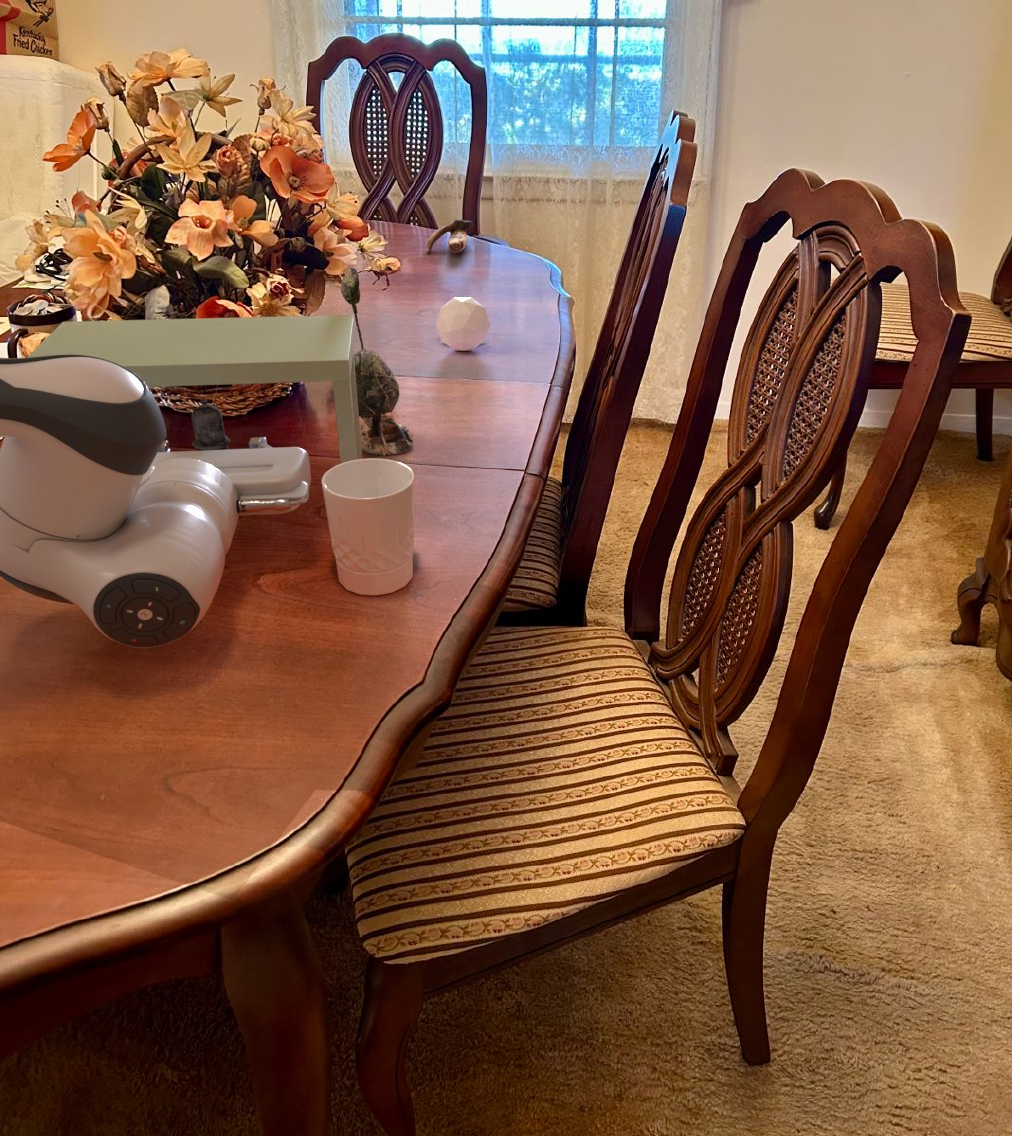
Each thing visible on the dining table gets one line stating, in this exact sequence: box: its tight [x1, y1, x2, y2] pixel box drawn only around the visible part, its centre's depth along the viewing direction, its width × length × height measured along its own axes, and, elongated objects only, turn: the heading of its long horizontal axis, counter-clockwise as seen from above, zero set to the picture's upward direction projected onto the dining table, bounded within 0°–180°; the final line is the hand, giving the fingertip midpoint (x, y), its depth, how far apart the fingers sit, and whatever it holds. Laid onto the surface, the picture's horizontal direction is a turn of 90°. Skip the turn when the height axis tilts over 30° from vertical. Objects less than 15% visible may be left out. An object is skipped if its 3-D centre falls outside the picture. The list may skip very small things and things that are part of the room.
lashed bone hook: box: [426, 219, 474, 254], centre depth 193 cm, size 9×5×18 cm
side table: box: [26, 314, 363, 464], centre depth 93 cm, size 29×14×17 cm, turn 96°
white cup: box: [321, 457, 416, 596], centre depth 82 cm, size 8×8×10 cm
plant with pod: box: [340, 267, 414, 457], centre depth 104 cm, size 8×11×20 cm
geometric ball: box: [435, 296, 491, 352], centre depth 137 cm, size 8×8×8 cm
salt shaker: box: [190, 396, 231, 451], centre depth 93 cm, size 6×6×12 cm
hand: (211, 445), depth 93 cm, fingers open, 8 cm apart
